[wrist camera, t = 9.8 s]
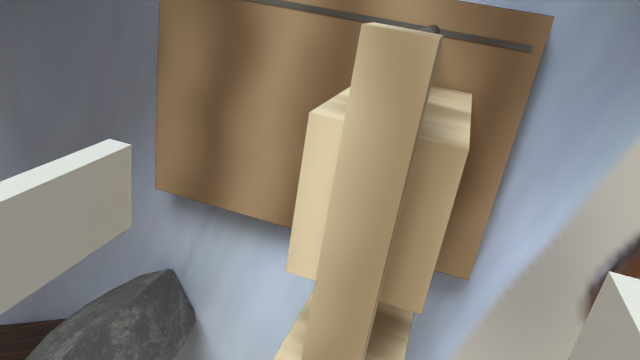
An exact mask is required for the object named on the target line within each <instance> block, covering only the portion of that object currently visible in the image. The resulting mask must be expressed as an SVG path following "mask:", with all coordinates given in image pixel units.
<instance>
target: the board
mask: <svg viewBox="0 0 640 360" xmlns="http://www.w3.org/2000/svg"><path fill="white" fill-rule="evenodd" d="M553 20H554V16H548V15H542V14H536V13H530V12H524V11H518V10H512V9H506V8H500V7H494V6H488V5H482V4H476V3H470V2H464V1H458V0H160V4H159V44H158V84H157V124H156V163H155V189H158V190H162V191H165V192H169V193H172V194H175V195H179V196H182V197H186V198H189V199H192V200H196V201H199V202H203V203H206V204H209V205H213V206H216V207H220V208H223V209H227V210H230V211H233V212H237V213H240V214H244V215H247V216H250V217H254V218H257V219H261V220H264V221H267V222H271V223H274V224H278V225H281V226H285V227H288V228H291V229H292V224H293V217H294V211H295V204H296V197H297V191H298V184H299V177H300V171H301V164H302V157H303V151H304V144H305V137H306V131H307V124H308V117H309V112H310V111H312V110H314V109H315V108H317V107H319V106H320V105H322V104H323V103H325V102H327V101H328V100H330V99H331V98H333V97H335V96H336V95H338V94H339V93H341V92H343V91H344V90H346V89H347V88H349V87H350V86H351V80H352V75H353V69H354V64H355V58H356V53H357V47H358V42H359V36H360V31H361V25H362V24H365V23H372V22H375V23H380V24H386V25H391V26H397V27H402V28H408V29H413V30H419V29H422V28H425V27H427V26H430V25H437V26H438V27H439V30H440V32H439V34H440V35H444V37H443V41H442V45H441V49H440V53H439V57H438V61H437V65H436V69H435V73H434V77H433V81H432V85H431V86H435V87H440V88H445V89H450V90H455V91H459V92H464V93H469V94H472V107H471V125H470V144H469V152H468V155H467V159H466V162H465V166H464V169H463V173H462V176H461V179H460V183H459V186H458V190H457V193H456V197H455V200H454V204H453V207H452V210H451V214H450V217H449V221H448V224H447V228H446V231H445V234H444V238H443V241H442V245H441V248H440V252H439V255H438V259H437V262H436V265H435V269H434V270H435V271H438V272H441V273H445V274H448V275H452V276H455V277H459V278H462V279H465V280H469V277H470V274H471V271H472V268H473V265H474V262H475V259H476V256H477V253H478V250H479V247H480V244H481V241H482V238H483V234H484V231H485V228H486V225H487V222H488V219H489V216H490V213H491V210H492V207H493V204H494V201H495V198H496V195H497V192H498V189H499V185H500V182H501V179H502V176H503V173H504V170H505V167H506V164H507V161H508V158H509V155H510V152H511V149H512V146H513V143H514V139H515V136H516V133H517V130H518V127H519V124H520V121H521V118H522V115H523V112H524V109H525V106H526V103H527V100H528V97H529V94H530V90H531V87H532V84H533V81H534V78H535V75H536V72H537V69H538V66H539V63H540V60H541V57H542V54H543V51H544V48H545V45H546V41H547V38H548V35H549V32H550V29H551V26H552V23H553Z"/></svg>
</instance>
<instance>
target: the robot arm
mask: <svg viewBox="0 0 640 360" xmlns="http://www.w3.org/2000/svg"><path fill="white" fill-rule="evenodd" d="M131 226H132V145H131V144H127V143H123V142H120V141H116V140H112V139H107V140H105V141H102V142H100V143H97V144H95V145H92V146H90V147H87V148H85V149H82V150H79V151H77V152H74V153H72V154H69V155H67V156H64V157H62V158H59V159H57V160H54V161H51V162H49V163H46V164H44V165H41V166H39V167H36V168H34V169H31V170H29V171H26V172H23V173H21V174H18V175H16V176H13V177H11V178H8V179H6V180H3V181H0V315H1V314H3V313H4V312H6V311H7V310H9V309H10V308H12V307H13V306H15V305H16V304H18V303H19V302H20V301H22V300H23V299H25V298H26V297H28V296H29V295H31V294H32V293H34V292H35V291H37V290H38V289H40V288H41V287H43V286H44V285H46V284H47V283H49V282H50V281H52V280H53V279H54V278H56V277H57V276H59V275H60V274H62V273H63V272H65V271H66V270H68V269H69V268H71V267H72V266H74V265H75V264H77V263H78V262H80V261H81V260H83V259H84V258H86V257H87V256H89V255H90V254H91V253H93V252H94V251H96V250H97V249H99V248H100V247H102V246H103V245H105V244H106V243H108V242H109V241H111V240H112V239H114V238H115V237H117V236H118V235H120V234H121V233H123V232H124V231H125V230H127V229H128V228H130V227H131ZM568 360H640V279H636V278H632V277H628V276H625V275H621V274H617V273H613V272H608V274H607V277H606V279H605V281H604V283H603V285H602V287H601V290H600V292H599V294H598V296H597V298H596V300H595V302H594V305H593V307H592V309H591V311H590V313H589V315H588V317H587V320H586V322H585V324H584V326H583V328H582V331H581V332H580V335H579V337H578V339H577V341H576V343H575V345H574V347H573V350H572V352H571V354H570V356H569V358H568Z"/></svg>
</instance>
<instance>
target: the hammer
mask: <svg viewBox="0 0 640 360" xmlns="http://www.w3.org/2000/svg"><path fill="white" fill-rule="evenodd" d="M194 323H195V313H194V309H193V307H192V305H191V303H190V301H189V299H188V298H187V296H186V294H185V292H184V290H183V288H182V286H181V284H180V282H179V280H178V278H177V276H176V274H175V273H174V271H173V269H167V270H163V271H158V272H154V273H149V274H145V275H141V276H138V277H136V278H134V279H132V280H130V281H128V282H126V283H124V284H122V285H120V286H118V287H116V288H114V289H112V290H110V291H109V292H107V293H106V294H104V295H102V296H101V297H99V298H97V299H96V300H94V301H92V302H91V303H89V304H87V305H86V306H84V307H83V308H82V309H80V310H79V311H77V312H76V313H75V314H73V315H72V316H70V317H69V318H67V319H58V320H49V321H39V322H30V323H21V324H12V325H3V326H0V360H173V358H174V357H175V356H176V355H177V353H178V352H179V350H180V348H181V347H182V345H183V344H184V342H185V340H186V338H187V337H188V335H189V333H190V331H191V329H192V327H193V325H194Z"/></svg>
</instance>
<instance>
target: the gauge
mask: <svg viewBox="0 0 640 360" xmlns="http://www.w3.org/2000/svg"><path fill="white" fill-rule="evenodd" d="M439 32H440V30H439V27H438V26H437V25H430V26H427V27H425V28H422V29H419V30H413V29H408V28H402V27H397V26H391V25H386V24H380V23H375V22H372V23H365V24H362V25H361V31H360V36H359V42H358V47H357V53H356V58H355V64H354V69H353V75H352V80H351V86H350V87H349V88H347V89H346V90H344V91H343V92H341V93H339V94H338V95H336V96H335V97H333V98H331V99H330V100H328V101H327V102H325V103H323V104H322V105H320V106H319V107H317V108H315V109H314V110H312V111H310V112H309V117H308V124H307V131H306V137H305V144H304V151H303V157H302V164H301V171H300V177H299V184H298V191H297V197H296V204H295V211H294V217H293V224H292V230H291V237H290V244H289V250H288V257H287V264H286V270H285V272H288V273H292V274H295V275H298V276H301V277H304V278H307V279H311V280H314V281H315V285H314V290H313V292H312V293H311V295H310V297H309V299H308V300H307V302H306V304H305V306H304V307H303V309H302V311H301V312H300V314H299V316H298V318H297V319H296V321H295V323H294V325H293V326H292V328H291V330H290V331H289V333H288V335H287V337H286V338H285V340H284V342H283V344H282V345H281V347H280V349H279V350H278V352H277V354H276V356H275V357H274V359H273V360H404V358H405V353H406V348H407V343H408V339H409V334H410V329H411V324H412V319H413V315H414V312H415V313H418V314H422V310H423V307H424V303H425V300H426V296H427V293H428V289H429V286H430V283H431V279H432V276H433V272H434V269H435V265H436V262H437V259H438V255H439V252H440V248H441V245H442V241H443V238H444V234H445V231H446V228H447V224H448V221H449V217H450V214H451V210H452V207H453V204H454V200H455V197H456V193H457V190H458V186H459V183H460V179H461V176H462V173H463V169H464V166H465V162H466V159H467V155H468V152H469V144H470V125H471V107H472V94H469V93H464V92H459V91H455V90H450V89H445V88H440V87H435V86H431V85H432V81H433V77H434V73H435V69H436V65H437V61H438V57H439V53H440V49H441V45H442V41H443V37H444V35H440V34H439Z"/></svg>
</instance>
